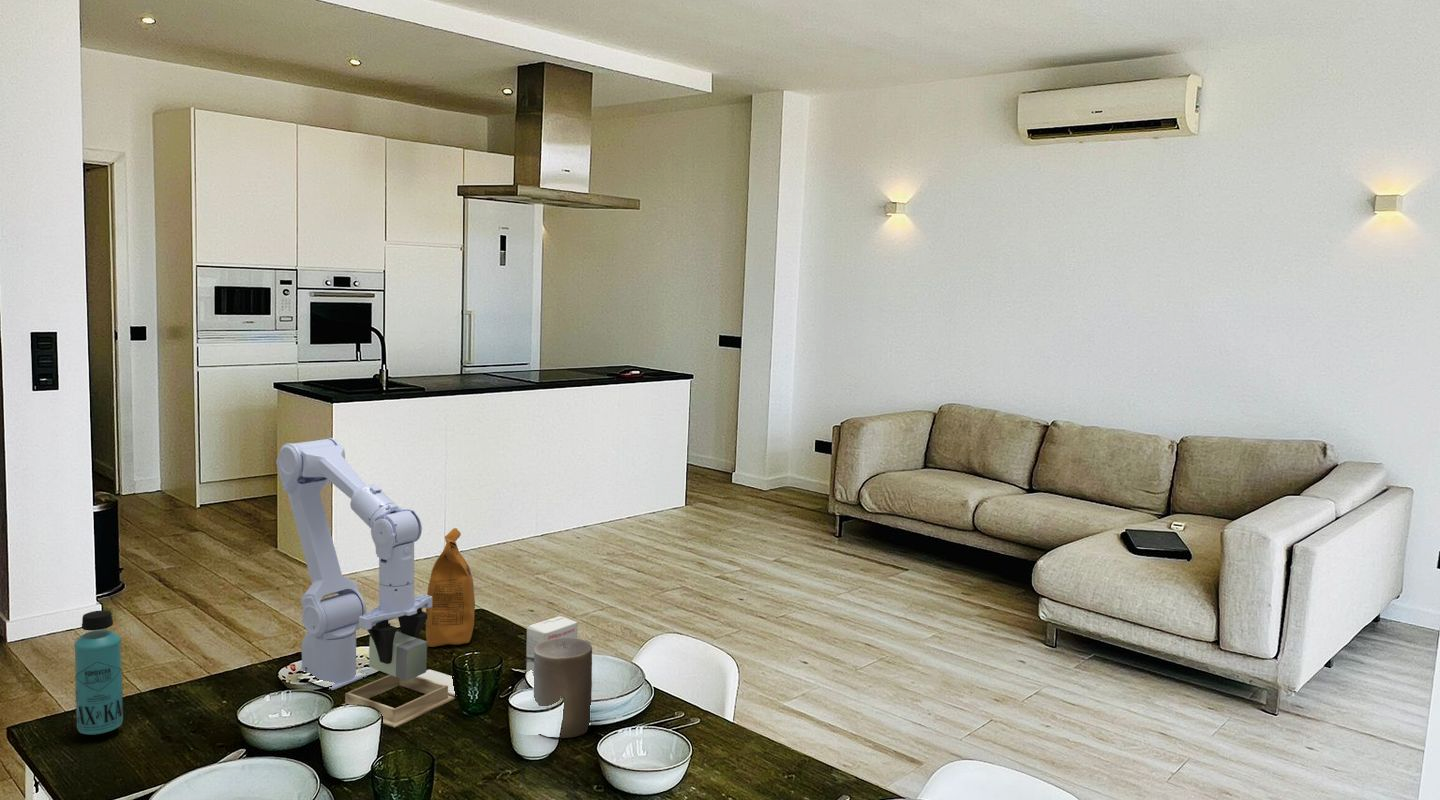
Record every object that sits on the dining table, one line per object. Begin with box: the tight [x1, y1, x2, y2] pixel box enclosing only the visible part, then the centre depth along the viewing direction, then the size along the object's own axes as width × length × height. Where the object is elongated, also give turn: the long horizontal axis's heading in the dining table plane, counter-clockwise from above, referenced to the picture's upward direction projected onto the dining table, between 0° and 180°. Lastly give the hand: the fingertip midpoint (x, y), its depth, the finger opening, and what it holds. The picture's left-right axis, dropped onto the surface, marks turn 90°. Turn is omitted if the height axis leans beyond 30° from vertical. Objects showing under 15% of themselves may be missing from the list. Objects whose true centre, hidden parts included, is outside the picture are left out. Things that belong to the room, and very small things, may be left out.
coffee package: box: [425, 527, 476, 648], centre depth 204 cm, size 10×12×22 cm
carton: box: [341, 674, 456, 728], centre depth 173 cm, size 14×14×2 cm
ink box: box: [525, 615, 579, 676], centre depth 183 cm, size 9×5×12 cm, turn 143°
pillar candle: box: [533, 638, 593, 739], centre depth 166 cm, size 10×10×15 cm
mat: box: [418, 669, 455, 697], centre depth 183 cm, size 12×6×1 cm, turn 60°
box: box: [368, 630, 428, 681], centre depth 172 cm, size 9×5×6 cm, turn 60°
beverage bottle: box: [73, 610, 125, 735], centre depth 157 cm, size 6×7×20 cm
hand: (397, 657), depth 173 cm, fingers closed on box, 4 cm apart
